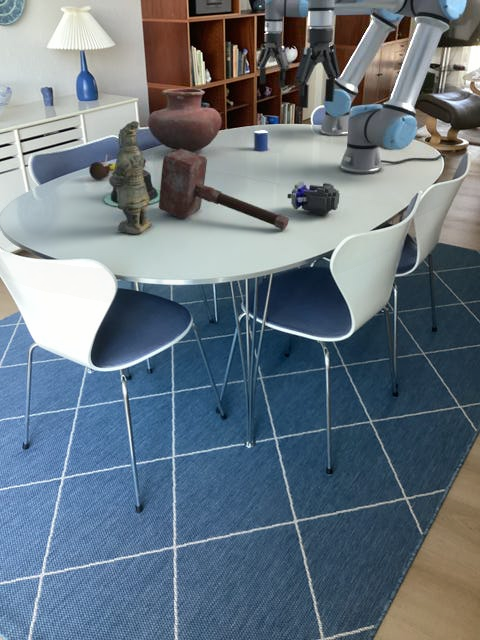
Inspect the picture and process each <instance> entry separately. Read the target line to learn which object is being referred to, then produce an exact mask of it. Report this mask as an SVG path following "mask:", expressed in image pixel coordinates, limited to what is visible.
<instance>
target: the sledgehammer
mask: <svg viewBox="0 0 480 640" xmlns="http://www.w3.org/2000/svg"><path fill="white" fill-rule="evenodd" d="M207 164H208V159H207V158H206V157H205V156H203V155H200V154H197V153H195V152H190V151H187V150H184V149H179V150H174V151H172V152H169V153H167V154H165V155H164V156H163V158H162V167H161V176H160V187H159V190H160V198H159V200H158V208H159V210H160V211H162V212H165V213H168V214H170V215H173V216H174V217H177V218H180V219H182V220H185V219H187V218H188V217H190V216H192V215H193V214H195V213H197V212H198V211H199V210H200V209H201V207H202V201H203V200H204V201H207V202H209V203H213V204H215V205H220V206H223V207H225V208H228V209H231V210H233V211H236V212H239V213H241V214H243V215H245V216H248V217H252V218H255V219H257V220H260V221H262V222H264V223H267V224H270V225H273V226H274V228H276V229H280V230H282V231H285V230H286V228H287V227H288V224H289V221H290V218H289V217H288V216H286V215H283V214H281V213H279V214H277V213H275V212H273V211H269V210H267V209H265V208H262V207H259V206H256V205H254V204H251V203H248V202H246V201H244V200H242V199H238V198H236V197H233V196H231V195H228V194H225V193H223V192H222V191H220V190H218V189H215V188H214V187H211V186H208V185H205V181H206V175H207Z"/></svg>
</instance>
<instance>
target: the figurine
mask: <svg viewBox="0 0 480 640" xmlns="http://www.w3.org/2000/svg"><path fill="white" fill-rule="evenodd" d="M108 158H109V156H108V154H106V155H105V158H104V161H102V162H101V161H94V162H92V163H90V165H89V168H88V170H89V171H88V172H89V175H90V177H91V178H93V179H94V180H98V181H99V180H103V179H106V178H107V177H109V175H110V172H114V170H115V164H116V163H108ZM146 162H147V161H146V159H145V158H144V166H143V168H145V166H146Z"/></svg>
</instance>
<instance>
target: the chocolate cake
mask: <svg viewBox="0 0 480 640" xmlns="http://www.w3.org/2000/svg"><path fill="white" fill-rule="evenodd" d="M113 175H114V171H112V173H111V176H113ZM143 178H144V182H145V184H146V188H147V192H148V195H149V197H150V204H154V203H157V202H159V198H160V188H156V187H154V185H153V182H152V174H151V172H149V171H148V170H146V169H144V168H143ZM103 200H104V202H105V203H106V204H108V205H109V206H115V207H118V202H117V192H116V189H115V188H114V187H112V191H111V193H108V194H107V195H106V196H104V198H103ZM150 204H149V205H150Z"/></svg>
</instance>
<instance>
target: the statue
mask: <svg viewBox="0 0 480 640" xmlns="http://www.w3.org/2000/svg"><path fill="white" fill-rule="evenodd" d="M139 126H140V122H139V121H136V120H134V121H131V122H129V123H127V124H126V125H125V126H123V127H122V128H121V129H119V133H118V139H117V141H118V146H119V152H118V154H117V156H116V160H115V163H114V164H115V170H114V171H113V172H114V175H113V176H112V175H111V176H110V177H109V180H108V183H109V184H110V186H111V187H112V188H113V187H114V188H115V189H116V192H117V202H118V206H117V209H119V210H122V213H123V214H124V215H125V218H126V219H125V220H122V221H120V222H119V224H118V225H117V231H118V232H121V233H126V234H134V235H136V234H142V233H143V232H145V231H146V230H147V229H148V228H150V227H151V226H152V225H153V223H152V220H150V219H148V216H147V214H148V213H147V212H148V211H147V209H148V206H149V205H150V197H149V195H148V192H147V188H146V184H145V182H144V178H143V169H144V167H145V166H144V159H145V157H144V153H143V151H142V150H141V149H139V147H138V145H137V144H138V142H137V141H138V140H137V139H138V137H137V132H138V131H139V128H140V127H139ZM143 166H144V167H143Z"/></svg>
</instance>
